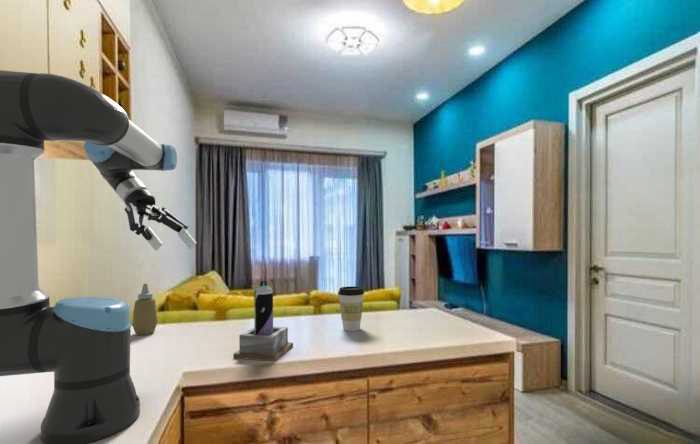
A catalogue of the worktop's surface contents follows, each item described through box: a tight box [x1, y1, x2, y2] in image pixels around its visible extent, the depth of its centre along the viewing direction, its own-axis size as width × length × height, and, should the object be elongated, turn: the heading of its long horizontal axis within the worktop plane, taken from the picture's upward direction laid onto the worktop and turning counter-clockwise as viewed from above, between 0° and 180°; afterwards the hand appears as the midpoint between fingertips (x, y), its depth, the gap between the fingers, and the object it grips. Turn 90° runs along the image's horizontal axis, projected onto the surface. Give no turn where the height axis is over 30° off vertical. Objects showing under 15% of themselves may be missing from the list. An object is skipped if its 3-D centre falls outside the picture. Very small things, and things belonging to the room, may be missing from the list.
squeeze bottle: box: [131, 283, 158, 336], centre depth 130 cm, size 8×8×18 cm
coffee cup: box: [337, 285, 365, 332], centre depth 132 cm, size 10×10×15 cm
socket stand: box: [232, 326, 294, 362], centre depth 107 cm, size 13×13×6 cm
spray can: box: [253, 280, 274, 335], centre depth 107 cm, size 6×6×20 cm
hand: (177, 246), depth 104 cm, fingers open, 13 cm apart
